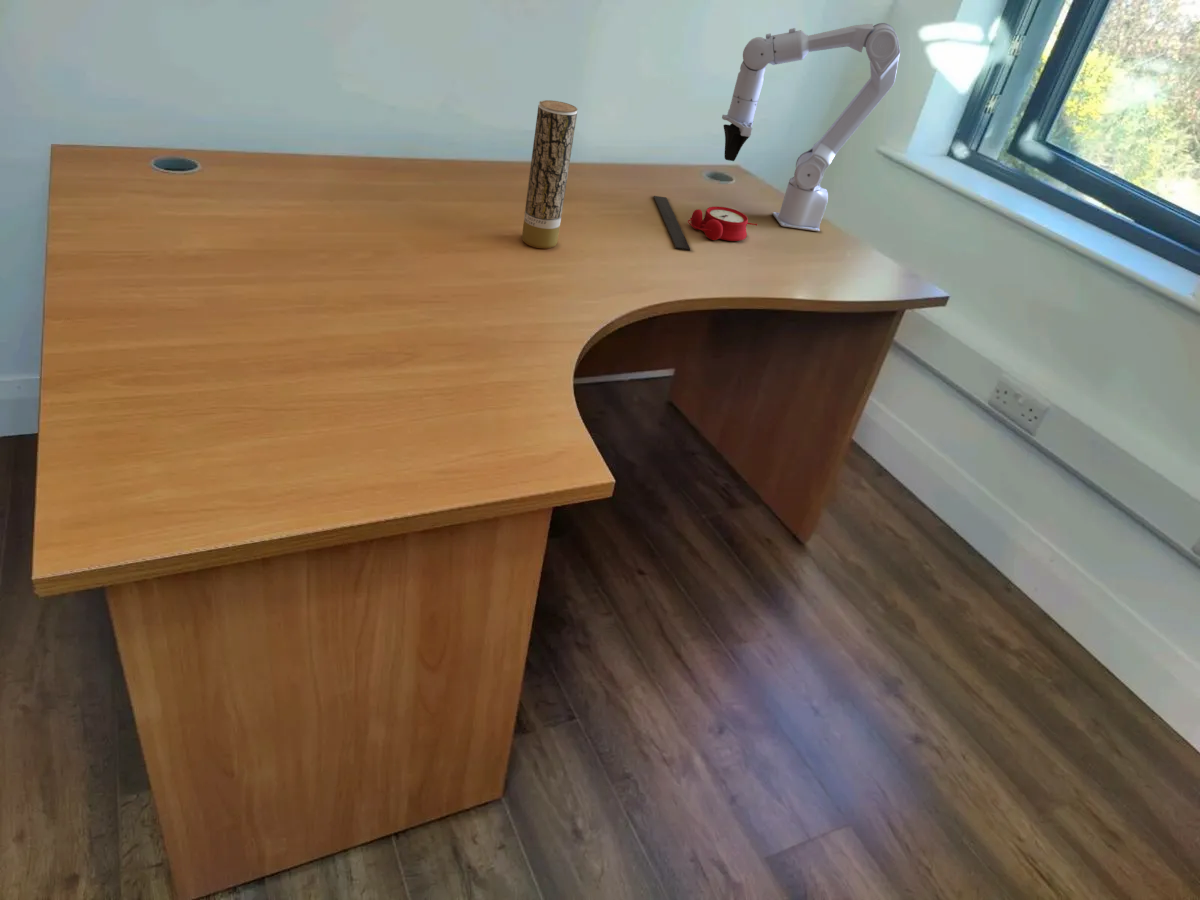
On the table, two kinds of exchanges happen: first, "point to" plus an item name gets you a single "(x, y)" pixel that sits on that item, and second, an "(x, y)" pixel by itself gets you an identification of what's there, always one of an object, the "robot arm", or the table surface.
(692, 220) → the alarm clock
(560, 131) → the paper tube
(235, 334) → the table surface
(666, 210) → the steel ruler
